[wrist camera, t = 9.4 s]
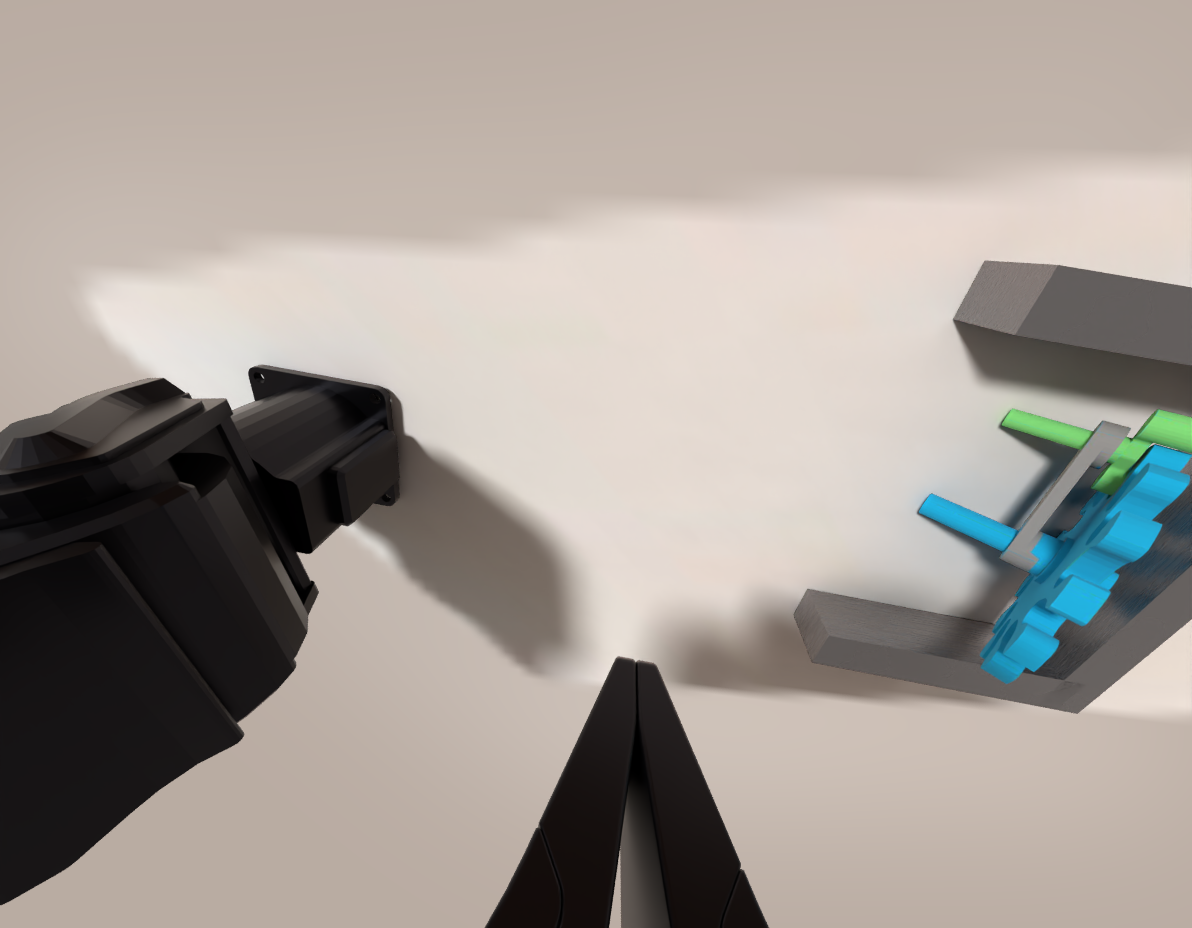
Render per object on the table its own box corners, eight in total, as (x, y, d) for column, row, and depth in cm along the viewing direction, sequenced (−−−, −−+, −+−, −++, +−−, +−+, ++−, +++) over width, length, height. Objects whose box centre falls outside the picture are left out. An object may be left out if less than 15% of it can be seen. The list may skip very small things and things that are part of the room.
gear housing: (793, 614, 23) (811, 662, 21) (984, 260, 15) (1058, 265, 12) (1028, 659, 23) (1077, 713, 20) (1364, 324, 14) (1524, 343, 12)
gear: (1024, 641, 20) (1016, 745, 14) (893, 568, 24) (835, 619, 17) (1203, 433, 17) (1317, 430, 10) (1013, 384, 20) (999, 358, 13)
